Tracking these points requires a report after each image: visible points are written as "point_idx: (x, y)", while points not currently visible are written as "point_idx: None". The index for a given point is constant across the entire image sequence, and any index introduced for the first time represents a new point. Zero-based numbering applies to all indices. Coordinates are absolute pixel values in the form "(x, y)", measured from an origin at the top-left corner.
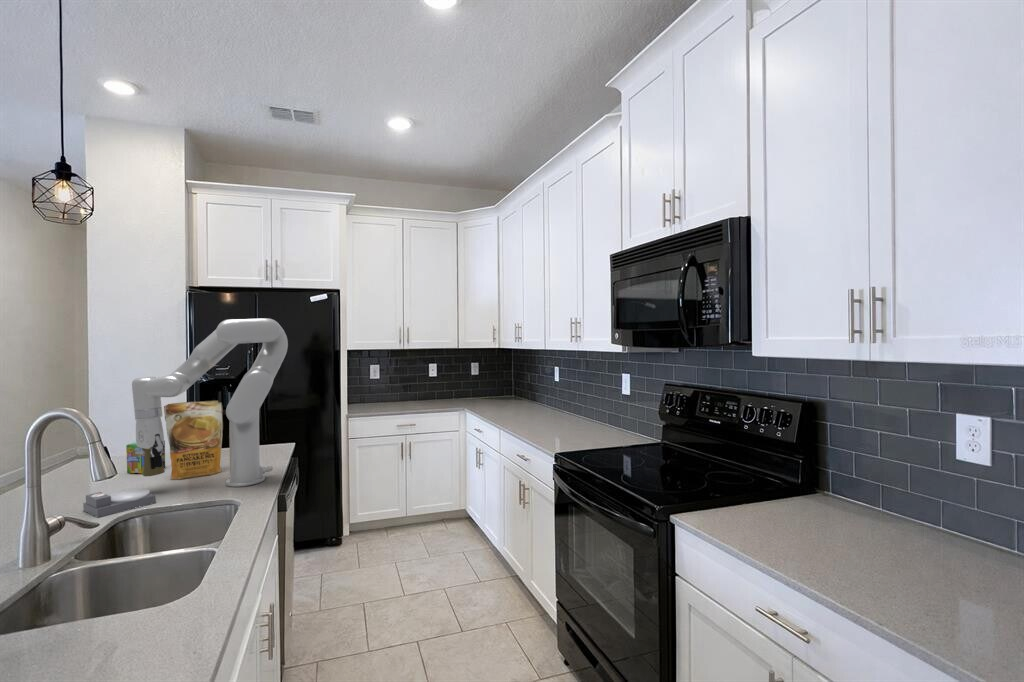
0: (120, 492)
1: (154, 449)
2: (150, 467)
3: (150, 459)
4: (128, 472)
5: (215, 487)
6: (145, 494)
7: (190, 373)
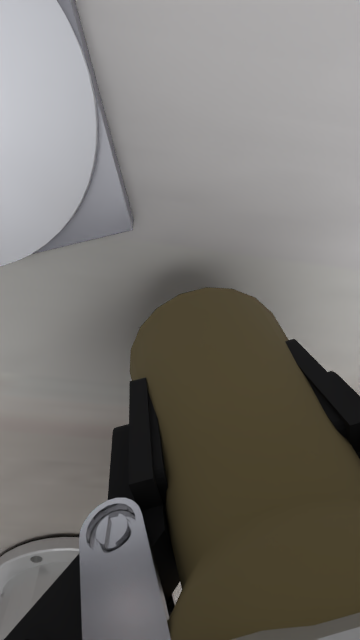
0: (37, 61)
1: None
2: (148, 380)
3: (135, 458)
4: None
5: (59, 505)
6: None
7: None
